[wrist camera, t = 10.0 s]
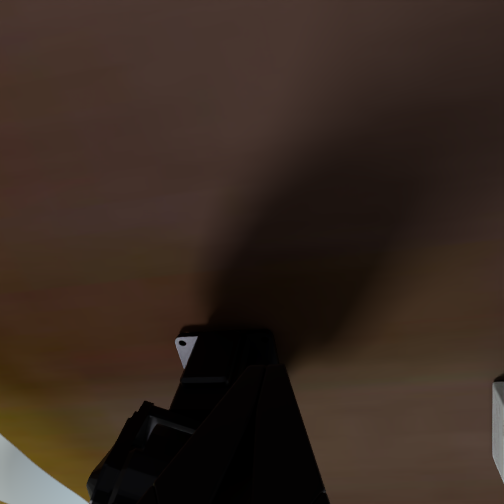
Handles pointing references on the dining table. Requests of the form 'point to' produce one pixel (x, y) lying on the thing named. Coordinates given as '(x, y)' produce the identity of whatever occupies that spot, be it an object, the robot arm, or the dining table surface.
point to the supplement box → (498, 426)
